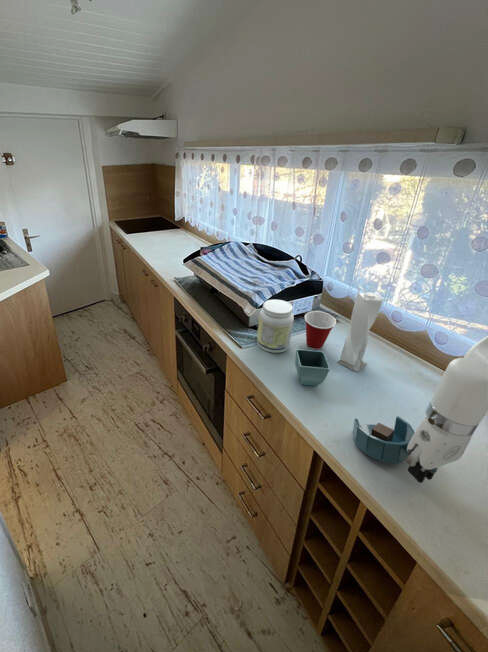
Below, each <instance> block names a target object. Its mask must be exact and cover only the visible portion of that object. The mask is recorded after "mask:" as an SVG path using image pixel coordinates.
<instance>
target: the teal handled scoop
mask: <svg viewBox="0 0 488 652" xmlns="http://www.w3.org/2000/svg"><path fill="white" fill-rule="evenodd" d="M353 420H354V421H353V429H352V439H353V442H354V443H355V445H356V446H357V447H358V449H359V450H360V451H361V452H362V453H364V454H366V456H369V457H371V458H373V459H375V460H377V461H380V462H383V463H389V464H401V463H402V464H403V463H404V462H405V460H406V458H407V457H408V456H409V455H410V454H411V453H412V452H411V453H408V452H407V447H408V444H409V442H410V440H411V438H412V436H413V434H414V433H415V430H414V429H413V426H411V424H410V423H409V422H407V421H406V420H405V419H403V418H402V417H401V416H396V417H395V422H394V426H393V427H394V428H393V430H394V434H393V440H392V442H389V441H383V440H381V439H379V438H376V437H374V436H372V435H371V433H372V428H374V427H375V426H376V425H377V424H362V425H361V424H360V422H359V420H358V418H354V419H353ZM405 463H406V462H405ZM437 468H438V467H437ZM437 468H434V469H427V470H428V471H429V472H431V473H435V474H436V473H437V471H438V469H437Z"/></svg>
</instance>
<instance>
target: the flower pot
mask: <svg viewBox="0 0 488 652" xmlns="http://www.w3.org/2000/svg"><path fill="white" fill-rule="evenodd" d="M294 361H295V369H296V374H297V378H298V382H299V383H300V385H303V386H304V385H305V386H313V387H314V386H315V387H316V386H319V385H322V383H324V382H325V380H326V378H327V377H328V375H329V372H330V370H331V367H330V364H329V361H328V358H327V356H326V353H325V351H322V350H310V349H300V348H299V349H298V348H297V349H295V360H294Z"/></svg>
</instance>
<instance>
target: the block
mask: <svg viewBox="0 0 488 652" xmlns="http://www.w3.org/2000/svg"><path fill="white" fill-rule="evenodd" d="M375 425H376V426H375V427H374V428H372V433H371V435H372V436H374V437H376V438H379V439H381V440H383V441H389V442H392V440H393V434H394V428H390V427H388V426H387V425H385V424H382V423H381V422H378V423H377V424H375Z"/></svg>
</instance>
